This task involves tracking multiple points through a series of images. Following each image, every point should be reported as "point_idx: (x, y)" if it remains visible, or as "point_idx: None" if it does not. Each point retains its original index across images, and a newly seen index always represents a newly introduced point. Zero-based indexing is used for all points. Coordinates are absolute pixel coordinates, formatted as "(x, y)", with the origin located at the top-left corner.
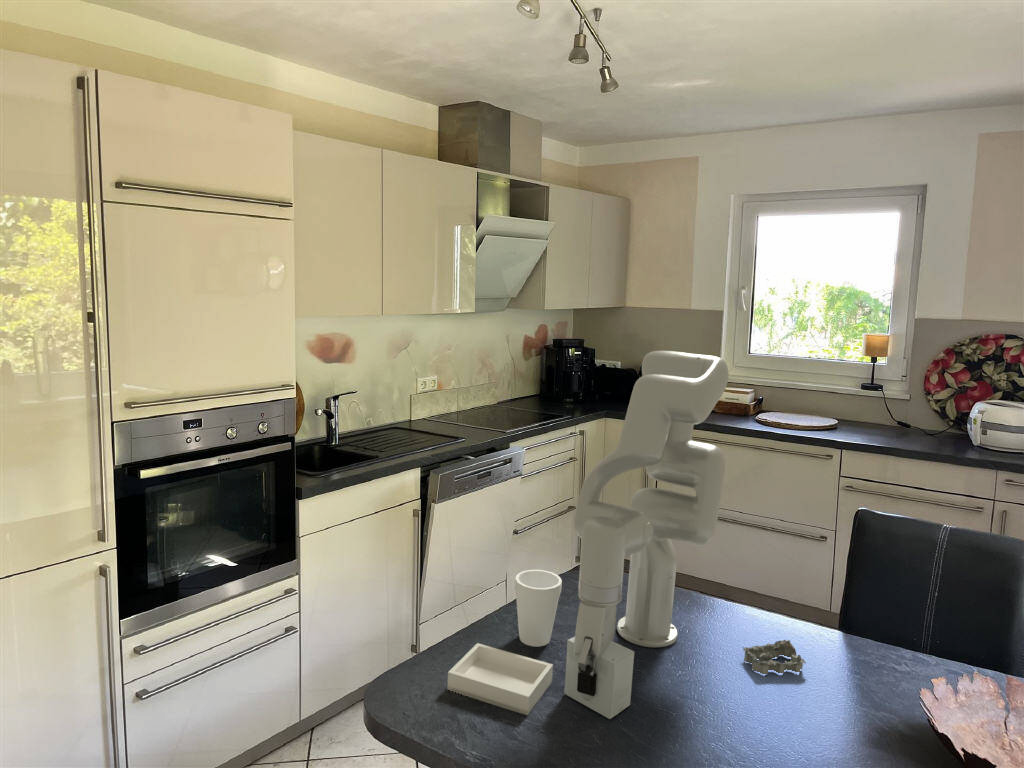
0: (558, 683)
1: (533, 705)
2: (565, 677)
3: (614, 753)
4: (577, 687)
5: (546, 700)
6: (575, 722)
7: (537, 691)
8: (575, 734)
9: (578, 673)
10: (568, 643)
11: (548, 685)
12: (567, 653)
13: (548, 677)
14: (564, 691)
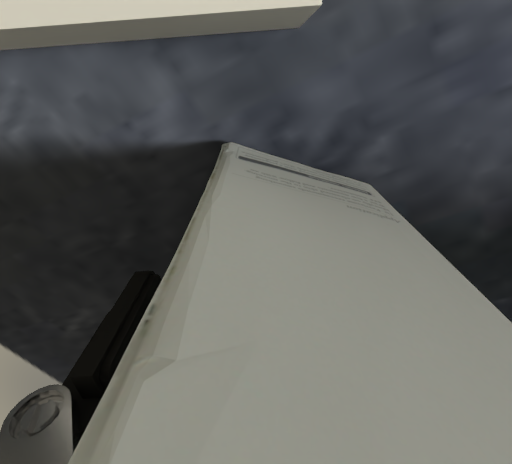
0: (304, 71)
1: (15, 47)
2: (214, 169)
3: (64, 367)
4: (128, 284)
5: (130, 83)
6: (94, 250)
7: (23, 37)
8: (39, 272)
9: (85, 356)
10: (78, 457)
11: (244, 30)
12: (166, 278)
13: (229, 23)
14: (222, 147)
